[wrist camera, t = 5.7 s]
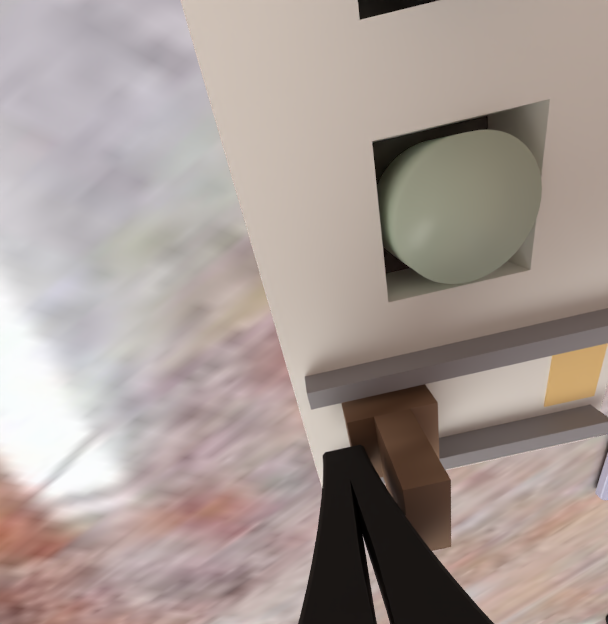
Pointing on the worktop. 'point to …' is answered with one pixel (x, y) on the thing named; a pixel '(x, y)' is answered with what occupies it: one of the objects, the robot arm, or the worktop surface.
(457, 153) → the sage button
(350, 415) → the walnut slider
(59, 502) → the worktop surface
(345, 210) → the control panel
